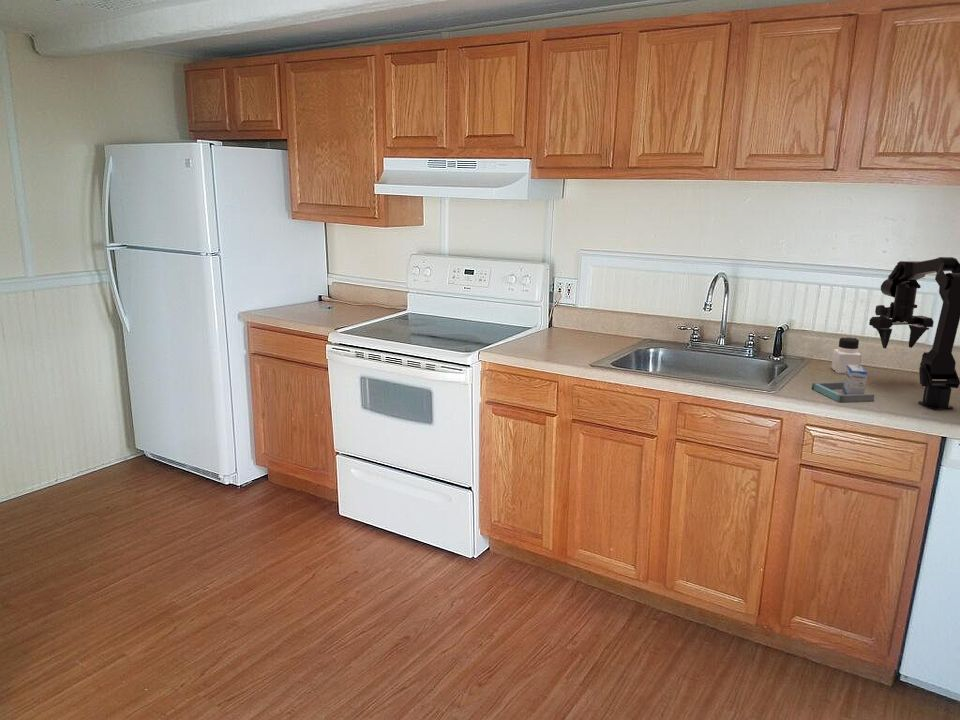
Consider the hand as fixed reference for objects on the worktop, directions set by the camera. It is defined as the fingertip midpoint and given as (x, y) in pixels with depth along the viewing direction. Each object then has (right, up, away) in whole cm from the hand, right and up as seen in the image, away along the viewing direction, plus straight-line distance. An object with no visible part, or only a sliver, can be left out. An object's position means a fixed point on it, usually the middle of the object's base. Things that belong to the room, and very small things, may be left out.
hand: (897, 347), depth 231 cm
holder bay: (-22, -15, -10) cm, 29 cm away
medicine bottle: (-8, -8, +18) cm, 21 cm away
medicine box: (-19, -15, -9) cm, 26 cm away
